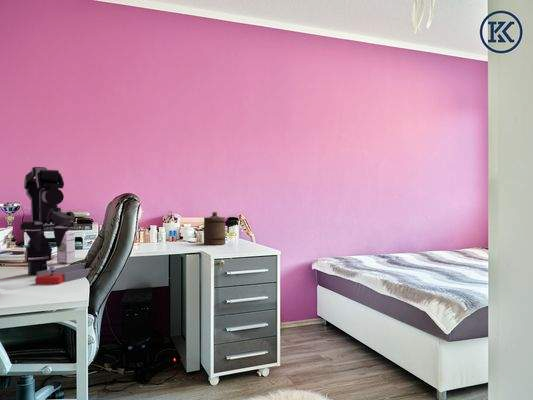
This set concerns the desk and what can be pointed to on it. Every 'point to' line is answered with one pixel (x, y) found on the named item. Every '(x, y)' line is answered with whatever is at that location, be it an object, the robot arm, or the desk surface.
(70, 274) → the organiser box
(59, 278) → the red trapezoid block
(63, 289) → the desk surface
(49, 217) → the robot arm
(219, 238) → the wooden container
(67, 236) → the syrup box
